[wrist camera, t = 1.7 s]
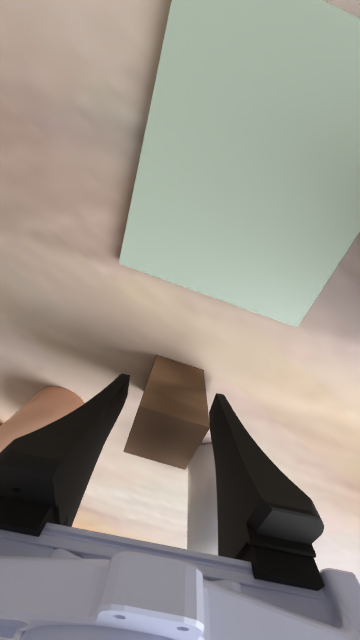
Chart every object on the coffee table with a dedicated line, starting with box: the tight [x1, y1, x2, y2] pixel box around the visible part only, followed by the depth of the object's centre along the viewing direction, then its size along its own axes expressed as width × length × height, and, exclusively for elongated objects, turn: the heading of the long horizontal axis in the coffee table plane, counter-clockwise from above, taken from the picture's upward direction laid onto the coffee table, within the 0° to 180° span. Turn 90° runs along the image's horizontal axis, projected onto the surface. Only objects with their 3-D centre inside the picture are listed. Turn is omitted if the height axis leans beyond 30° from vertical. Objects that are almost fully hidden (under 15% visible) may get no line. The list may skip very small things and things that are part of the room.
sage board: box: [119, 0, 360, 327], centre depth 9 cm, size 12×12×1 cm
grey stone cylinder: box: [187, 443, 218, 556], centre depth 15 cm, size 5×5×6 cm
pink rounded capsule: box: [0, 387, 85, 452], centre depth 14 cm, size 5×5×5 cm
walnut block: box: [123, 355, 210, 469], centre depth 12 cm, size 4×4×5 cm
